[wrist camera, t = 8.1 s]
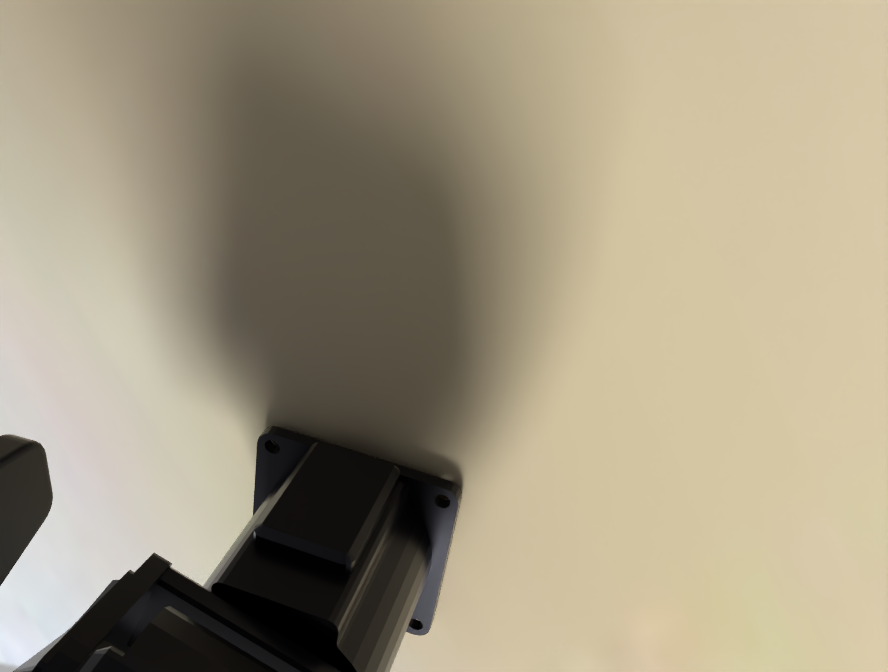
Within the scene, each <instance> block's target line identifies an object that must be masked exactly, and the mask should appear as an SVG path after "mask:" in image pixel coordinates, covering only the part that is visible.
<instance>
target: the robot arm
mask: <svg viewBox="0 0 888 672" xmlns="http://www.w3.org/2000/svg"><path fill="white" fill-rule="evenodd" d="M271 440H273V441H275V442H277V444H278V445H279V446H276V445H275V444H273V442H272V441H271ZM439 494H440V495H445V496H446V497H448V498H449V500H445V499H443V498H441V497H440V496H439ZM52 500H53V493H52V487H51V481H50V475H49V469H48V463H47V458H46V453H45V449H44V448H43V446H42V445H41V444H40V443H38V442H37V441H33V440H30V439H26V438H23V437H19V436H16V435H2V436H0V586H1V584H2V583H3V581H4V580H5V578H6V577H7V575H8V574H9V572H10V571H11V569H12V568H13V566H14V565H15V563H16V562H17V560H18V559H19V557H20V556H21V554H22V553H23V552H24V550H25V549H26V547H27V546H28V544H29V543H30V541H31V540H32V538H33V537H34V535H35V534H36V532H37V531H38V529H39V528H40V526H41V525H42V523H43V522H44V520H45V519H46V517H47V515H48V513H49V511H50V509H51V505H52ZM460 502H461V491H460V489H459V487H458V486H456V485H455V484H454V483H452V482H450V481H448V480H445V479H442V478H439V477H436V476H433V475H429V474H426V473H423V472H420V471H417V470H414V469H410V468H407V467H404V466H401V465H398V464H395V463H391V462H388V461H385V460H382V459H379V458H376V457H372V456H369V455H366V454H363V453H360V452H357V451H353V450H350V449H347V448H344V447H341V446H338V445H334V444H331V443H328V442H325V441H322V440H319V439H315V438H312V437H309V436H306V435H303V434H300V433H296V432H293V431H290V430H287V429H284V428H281V427H276V426H272V427H268V428H267V429H266V430H265V431H264V432H263V433H262V434H261V436H260V437H259V439H258V442H257V457H256V474H255V491H254V507H253V517H252V518H251V520H250V521H249V523H248V524H247V525H246V527H245V528H244V530H243V531H242V532H241V534H240V535H239V537H238V538H237V539H236V541H235V542H234V544H233V545H232V546H231V548H230V549H229V551H228V552H227V553H226V555H225V556H224V558H223V559H222V560H221V562H220V563H219V565H218V566H217V567H216V569H215V570H214V572H213V573H212V574H211V576H210V577H209V579H208V580H207V581H206V583H205V584H204V586H201V585H199V584H198V583H196V582H195V581H193V580H191V579H190V578H188V577H186V576H185V575H183V574H181V573H180V572H178V571H176V570H175V569H173V568H172V567H171V565H172V563H170V562H169V561H167V560H165V559H164V558H162V557H160V556H159V555H157V554H156V553H153V554H152V555H151V556H150V557H149V558H148V559H147V560H146V561H145V562H144V563H143V564H142V566H141V567H140V568H139V569H138V570H137V571H136V572H135V573H134V572H133V571H131V570H129V571H128V572H127V573H126V574H125V575H124V576H123V577H122V578H121V579H120V580H113V581H112V582H111V583H110V584H109V585H108V586H107V588H106V589H105V590H104V591H103V592H102V594H101V595H100V596H99V597H98V598H97V599H96V601H95V602H94V603H93V604H92V605H91V606H90V608H89V609H88V610H87V611H86V612H85V613H84V614H83V616H82V617H81V618H80V619H79V620H78V621H77V622H76V623H75V624H74V625H73V626H72V627H71V628H70V629H69V630H67V631H66V632H65V633H64V634H62V635H61V636H60V637H58V638H57V639H56V640H54V641H53V642H52V643H50V644H49V645H48V646H46V647H45V648H44V649H42V650H41V651H40V652H38V653H37V654H36V655H34V656H33V657H32V658H30V659H29V660H28V661H26V662H25V663H24V664H22V665H21V666H20V667H18V668H17V669H16V670H14V671H13V672H390V669H391V667H392V664H393V662H394V659H395V657H396V654H397V652H398V649H399V647H400V644H401V642H402V639H403V637H404V635H405V632H408V633H411V634H414V635H425V634H427V633H428V632H429V630H430V628H431V625H432V622H433V619H434V615H435V610H436V606H437V602H438V597H439V593H440V589H441V584H442V580H443V576H444V571H445V567H446V563H447V559H448V554H449V550H450V546H451V541H452V537H453V533H454V528H455V524H456V520H457V515H458V511H459V507H460ZM416 619H417V620H416ZM418 620H419V621H418Z"/></svg>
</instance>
